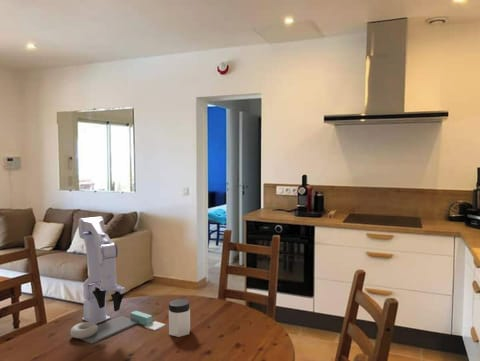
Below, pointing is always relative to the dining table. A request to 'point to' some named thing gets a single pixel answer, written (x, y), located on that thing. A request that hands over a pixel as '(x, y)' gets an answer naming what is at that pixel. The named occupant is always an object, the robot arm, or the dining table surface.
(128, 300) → the dining table surface
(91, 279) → the robot arm
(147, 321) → the turner
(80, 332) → the donut
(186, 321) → the jar
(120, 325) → the slate board
